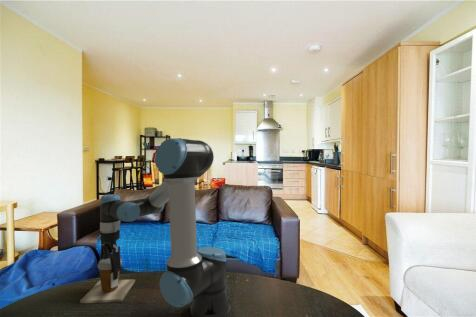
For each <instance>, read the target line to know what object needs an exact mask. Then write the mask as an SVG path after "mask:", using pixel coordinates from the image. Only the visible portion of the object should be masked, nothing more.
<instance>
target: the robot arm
mask: <svg viewBox="0 0 476 317" xmlns="http://www.w3.org/2000/svg"><path fill="white" fill-rule="evenodd" d="M214 157H215V156H214V151H213V148H212V147H211V146H210V145H209V144H208V143H207V142H205V141H202V140H198V139H189V138H180V137H179V138H178V137H177V138H174V137H173V138H172V137H171V138H167V139H164V141H162V142H161V143H160V144H159V146H158V147H157V149H156V153H155V156H154V162H155V167H156V169H157V170H158V172H160V174H162V176H163V180H164V181H163V182H162V183H160V185H158V186H157V188H155V189H154V190H153V192H151V193H150V194H149V195H148V196H146V197H145V198H138V199H133V200H126V201H123V200H121V195H120V194H115V193H114V194H104V195H101V197H100V204H99V213H100V214H99V215H100V219H99V220H100V222H99V231H100V233H99V239H100V253H99V254H100V256H99V261H100V260H102V259H108V258H109V257H110V263H111V267H112V272H110V273H111V288H113V287H116V286H118V271H120V272H121V270H122V264H121V262H120V258H121V247H120V246H118V245H117V241H118V240H120V238H121V237H120V235H121V232H120V231H121V230H120V228H121V227H120V224H121V221H123V222H134V221H135V220H137V219H138V218H141V217H145V216H149V215H155V214H157V213H160V212H162V211H163V210H164V208H165V204H166V203H169V204H168V205H169V206H168V207H169V209H168V210H169V230H170V231H169V232H170V234H169V235H170V257H169V258H167V260H166V271H165V272H163V273H162V275H161V276H160V278H159V283H158V284H159V290H160V292H161V295H162V297H163V298H164V299H165V301H166V302H167V303H168V304H169V305H170V306H173V307H174V308H182V307H184V306H186V305H188V304H190V311H189V312H190V315H191V316H192V317H227V316H228V315H229V314H230V312H231V300H230V298H229V295H228V291H227V285H226V284H227V254H226V252H225V251H224V250H223V249H222V248H219V247H214V246H213V247H212V246H204V247H198V243H197V242H198V241H197V239H198V238H197V215H196V189H195V188H196V187H195V183H196V181H197V180H198V179H199V178H201V177H202V176H203V175H204V174H206V172H208V171H209V170H210V168H211V167H212V165H213V162H214Z"/></svg>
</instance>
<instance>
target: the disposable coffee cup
mask: <svg viewBox="0 0 476 317" xmlns="http://www.w3.org/2000/svg"><path fill="white" fill-rule="evenodd" d="M120 262H121V265H122V264H123V260H122V257H120ZM97 268H98V272H99V281H101V288H102V291H103V292H110V291H113V290H115V289H117V288H118V286H116V287H113V288H111V273H110V272H112V267H111V263H110V257H109V258H108V259H102V260H100V259H99V261H98V263H97ZM120 275H121V270H120V271H118V283H119V280H120Z"/></svg>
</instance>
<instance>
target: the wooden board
mask: <svg viewBox="0 0 476 317" xmlns="http://www.w3.org/2000/svg"><path fill="white" fill-rule="evenodd" d="M135 283H136V279H135V278H133V279H132V278H131V279H119V283H118V288H117V289H115V290H113V291H110V292H103V291H102V288H101V281H100V280H98V281H97V283H96V284H95V285H94V286H93V287H92V288H91V289H90V290H89V291H88V292H87V293H86V294H85V295H84V296H83V297H82V298H81V299H80V301H79V304H98V303H99V304H101V303H121V302H123V300H124V299H125V298H126V296H127V294H128V293H129V292H130V290H131V289H132V287H133V285H134V284H135Z"/></svg>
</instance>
